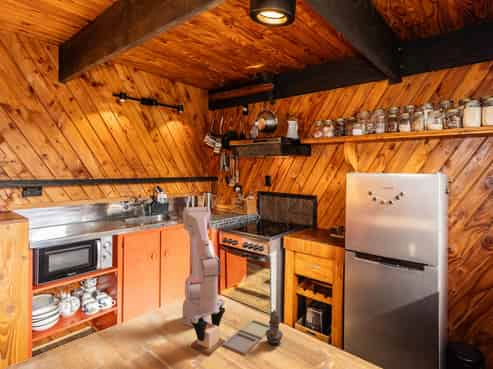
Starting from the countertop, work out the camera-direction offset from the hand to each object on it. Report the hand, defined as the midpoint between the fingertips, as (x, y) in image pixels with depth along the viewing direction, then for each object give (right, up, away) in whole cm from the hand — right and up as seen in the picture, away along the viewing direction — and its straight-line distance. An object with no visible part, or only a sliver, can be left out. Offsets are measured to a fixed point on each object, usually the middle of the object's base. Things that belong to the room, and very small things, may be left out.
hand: (208, 334), depth 98 cm
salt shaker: (+22, -4, +2) cm, 22 cm away
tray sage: (+17, -3, +10) cm, 20 cm away
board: (0, -4, 0) cm, 4 cm away
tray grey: (+11, -4, +1) cm, 12 cm away
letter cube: (0, -3, 0) cm, 3 cm away
